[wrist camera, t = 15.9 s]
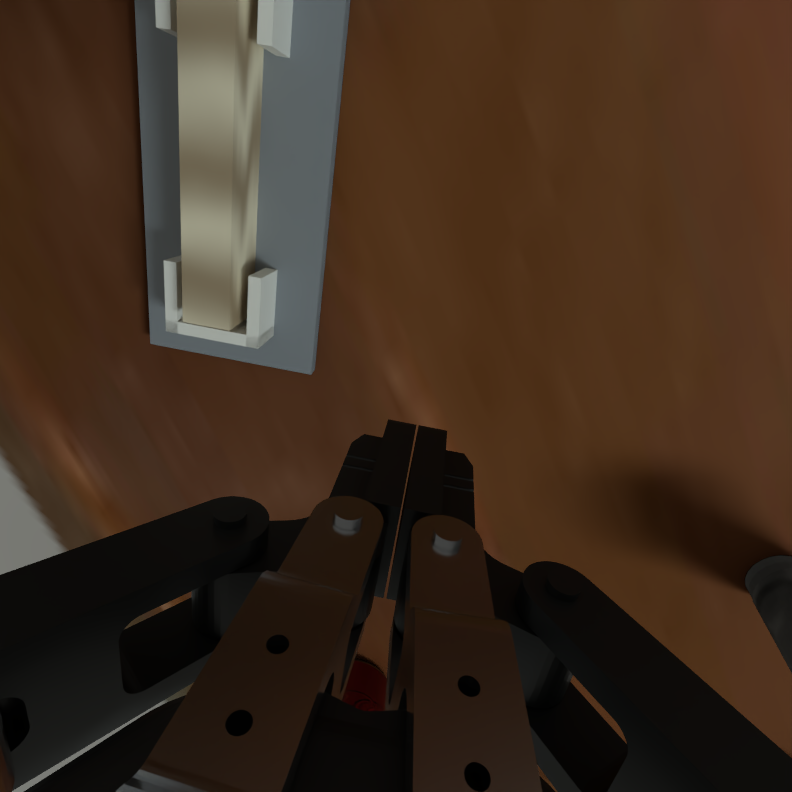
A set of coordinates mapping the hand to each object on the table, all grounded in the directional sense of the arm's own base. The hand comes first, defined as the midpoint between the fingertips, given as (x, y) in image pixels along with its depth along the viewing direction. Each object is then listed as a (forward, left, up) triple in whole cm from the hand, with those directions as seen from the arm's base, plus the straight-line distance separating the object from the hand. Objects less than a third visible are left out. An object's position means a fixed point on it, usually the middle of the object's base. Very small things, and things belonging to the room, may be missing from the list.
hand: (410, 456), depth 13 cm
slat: (-5, -14, -22) cm, 26 cm away
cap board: (-5, -14, -23) cm, 27 cm away
